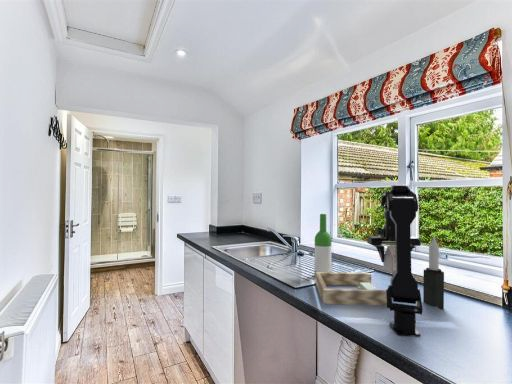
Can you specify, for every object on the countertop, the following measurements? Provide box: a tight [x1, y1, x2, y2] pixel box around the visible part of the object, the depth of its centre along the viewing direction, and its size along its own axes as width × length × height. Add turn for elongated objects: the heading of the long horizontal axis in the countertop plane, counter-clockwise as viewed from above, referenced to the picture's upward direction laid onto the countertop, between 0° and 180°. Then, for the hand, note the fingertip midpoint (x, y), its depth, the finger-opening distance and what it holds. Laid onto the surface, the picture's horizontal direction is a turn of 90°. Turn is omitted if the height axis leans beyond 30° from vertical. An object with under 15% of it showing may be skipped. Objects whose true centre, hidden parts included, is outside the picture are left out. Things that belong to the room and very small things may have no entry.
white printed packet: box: [382, 244, 396, 274], centre depth 116 cm, size 4×7×10 cm, turn 121°
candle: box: [422, 236, 445, 310], centre depth 104 cm, size 5×5×25 cm
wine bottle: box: [313, 213, 332, 276], centre depth 137 cm, size 8×8×30 cm
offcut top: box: [359, 282, 379, 290], centre depth 113 cm, size 4×14×2 cm, turn 0°
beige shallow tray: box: [314, 271, 387, 307], centre depth 114 cm, size 23×22×6 cm
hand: (393, 262), depth 116 cm, fingers closed on white printed packet, 8 cm apart
